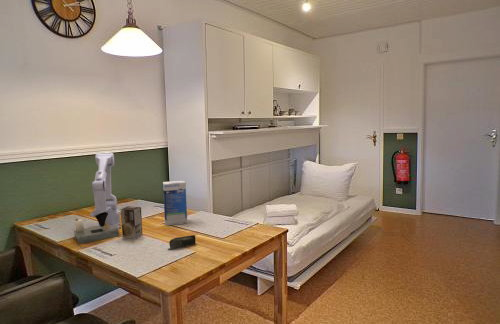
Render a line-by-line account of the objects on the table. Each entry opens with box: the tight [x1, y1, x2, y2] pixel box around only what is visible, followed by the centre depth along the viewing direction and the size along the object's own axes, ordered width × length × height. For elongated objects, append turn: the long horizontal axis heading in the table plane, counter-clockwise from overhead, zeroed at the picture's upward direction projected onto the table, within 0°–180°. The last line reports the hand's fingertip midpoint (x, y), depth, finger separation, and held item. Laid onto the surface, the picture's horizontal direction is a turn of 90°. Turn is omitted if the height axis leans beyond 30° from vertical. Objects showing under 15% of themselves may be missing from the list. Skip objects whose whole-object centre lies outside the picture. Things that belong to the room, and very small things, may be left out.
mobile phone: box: [167, 234, 197, 251], centre depth 173 cm, size 5×3×15 cm
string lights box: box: [162, 180, 188, 226], centre depth 211 cm, size 13×8×26 cm, turn 108°
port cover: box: [103, 222, 122, 231], centre depth 193 cm, size 8×8×3 cm
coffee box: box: [120, 205, 143, 240], centre depth 188 cm, size 9×6×16 cm
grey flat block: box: [73, 224, 120, 245], centre depth 190 cm, size 20×14×4 cm
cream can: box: [74, 217, 85, 232], centre depth 189 cm, size 4×4×7 cm
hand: (102, 226), depth 189 cm, fingers closed
